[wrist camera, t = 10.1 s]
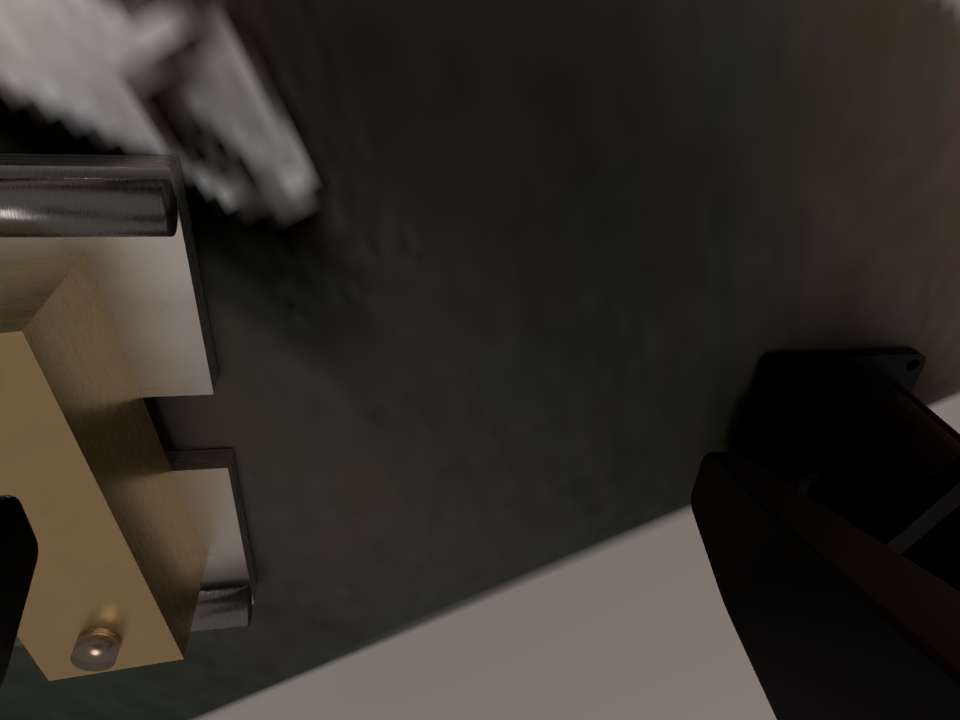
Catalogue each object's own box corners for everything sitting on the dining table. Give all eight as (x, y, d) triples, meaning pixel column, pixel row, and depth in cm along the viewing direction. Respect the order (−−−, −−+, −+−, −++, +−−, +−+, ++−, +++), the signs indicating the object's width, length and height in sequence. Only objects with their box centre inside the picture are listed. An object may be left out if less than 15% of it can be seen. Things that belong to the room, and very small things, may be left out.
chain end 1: (178, 155, 18) (156, 185, 16) (219, 375, 21) (205, 422, 19) (-170, 150, 16) (-243, 182, 14) (-61, 386, 20) (-107, 437, 18)
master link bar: (84, 253, 18) (10, 345, 14) (207, 558, 24) (179, 676, 20) (-80, 269, 17) (-204, 369, 13) (91, 575, 24) (41, 699, 20)
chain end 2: (232, 448, 23) (220, 498, 21) (256, 582, 27) (249, 635, 25) (-27, 462, 22) (-65, 516, 20) (38, 601, 25) (11, 658, 23)
